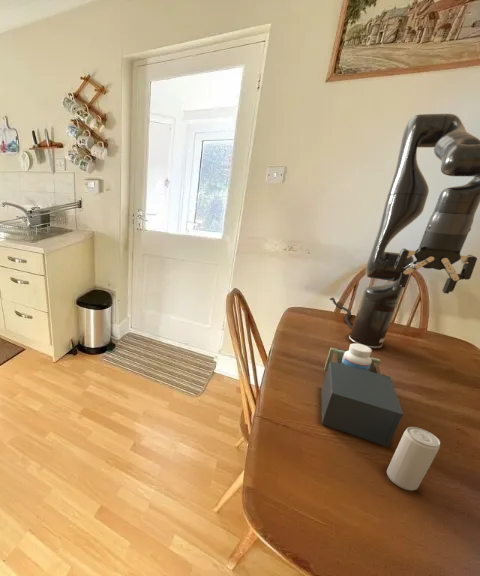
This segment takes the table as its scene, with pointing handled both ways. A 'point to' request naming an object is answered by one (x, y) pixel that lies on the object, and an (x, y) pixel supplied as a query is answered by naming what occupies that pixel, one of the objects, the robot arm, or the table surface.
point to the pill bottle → (357, 357)
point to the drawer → (337, 357)
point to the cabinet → (360, 403)
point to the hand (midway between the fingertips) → (423, 289)
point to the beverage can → (413, 458)
